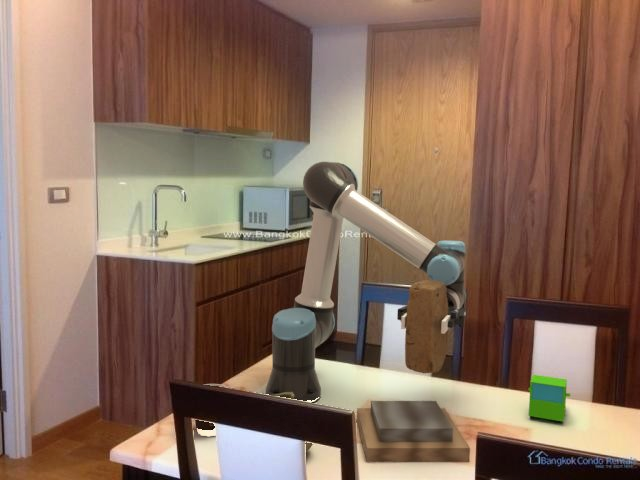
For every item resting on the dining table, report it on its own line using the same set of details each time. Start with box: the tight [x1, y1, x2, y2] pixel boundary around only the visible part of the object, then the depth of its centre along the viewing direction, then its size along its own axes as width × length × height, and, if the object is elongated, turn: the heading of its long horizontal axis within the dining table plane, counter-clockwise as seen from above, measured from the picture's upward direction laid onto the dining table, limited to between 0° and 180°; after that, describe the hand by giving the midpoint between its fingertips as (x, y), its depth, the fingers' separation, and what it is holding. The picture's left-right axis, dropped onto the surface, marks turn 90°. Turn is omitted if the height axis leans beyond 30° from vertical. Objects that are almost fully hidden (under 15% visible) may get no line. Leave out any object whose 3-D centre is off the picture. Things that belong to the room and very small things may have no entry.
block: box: [404, 279, 449, 374], centre depth 134 cm, size 11×8×20 cm
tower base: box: [356, 400, 471, 463], centre depth 136 cm, size 22×22×6 cm
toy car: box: [528, 374, 571, 424], centre depth 152 cm, size 10×13×10 cm
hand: (422, 325), depth 130 cm, fingers closed on block, 8 cm apart
